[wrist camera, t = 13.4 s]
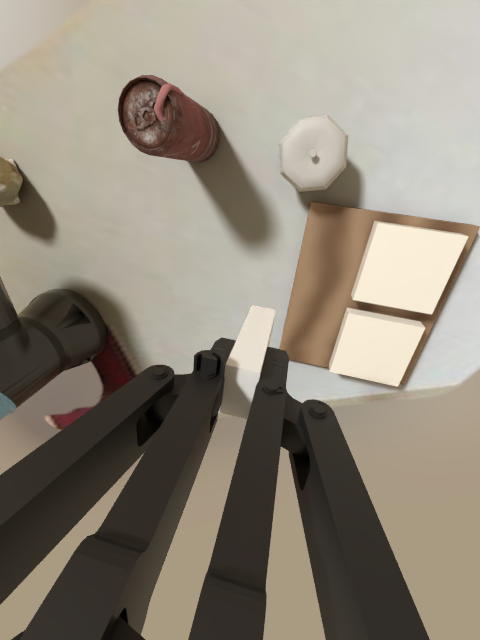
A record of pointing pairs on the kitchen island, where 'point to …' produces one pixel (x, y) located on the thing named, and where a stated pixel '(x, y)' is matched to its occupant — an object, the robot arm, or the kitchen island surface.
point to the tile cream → (406, 266)
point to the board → (346, 279)
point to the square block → (375, 346)
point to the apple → (313, 153)
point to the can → (166, 121)
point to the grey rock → (9, 182)
